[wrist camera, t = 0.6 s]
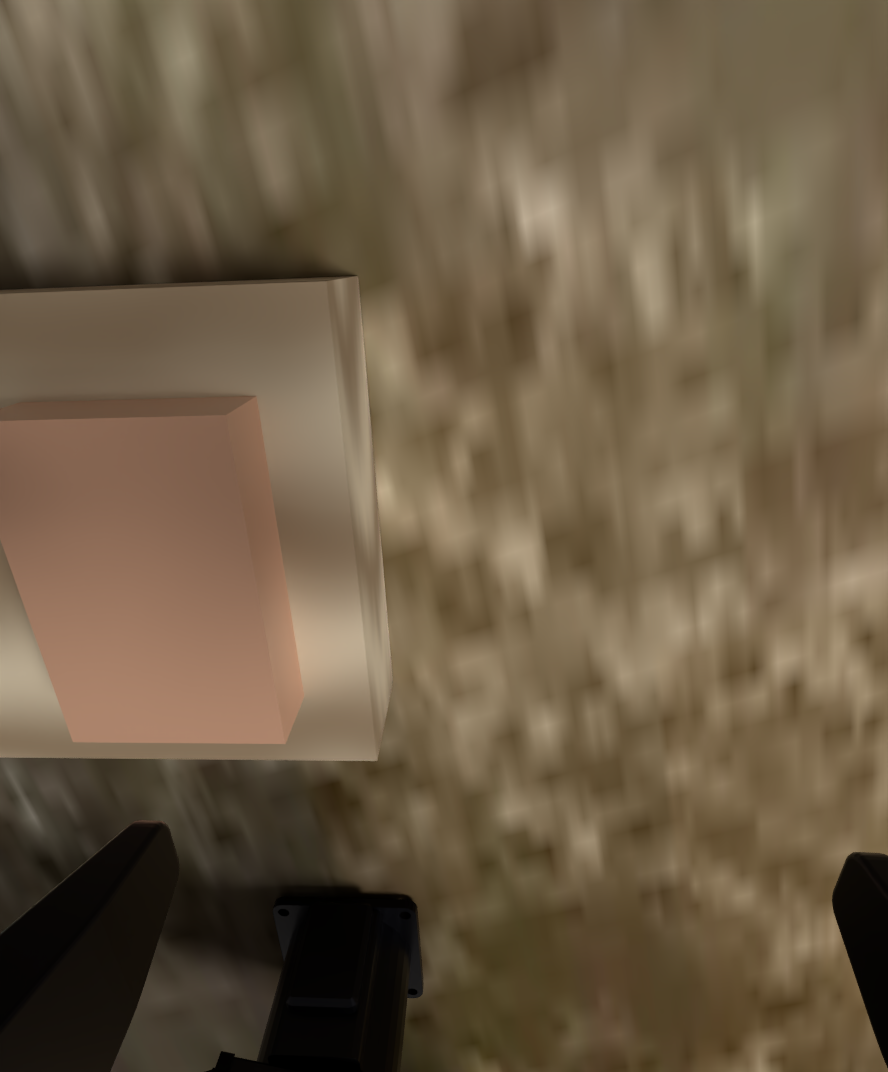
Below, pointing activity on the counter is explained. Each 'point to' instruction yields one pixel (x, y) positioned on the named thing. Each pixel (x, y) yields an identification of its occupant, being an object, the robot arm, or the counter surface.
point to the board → (294, 469)
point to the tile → (152, 567)
